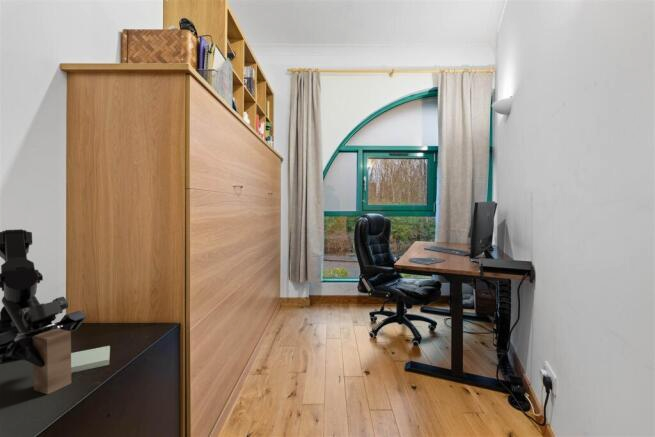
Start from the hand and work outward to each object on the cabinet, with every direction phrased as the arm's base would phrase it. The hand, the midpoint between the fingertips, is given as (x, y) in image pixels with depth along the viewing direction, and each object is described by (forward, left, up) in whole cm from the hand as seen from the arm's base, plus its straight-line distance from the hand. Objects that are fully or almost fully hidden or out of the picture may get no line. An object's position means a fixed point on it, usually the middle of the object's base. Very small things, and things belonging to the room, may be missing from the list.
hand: (56, 360), depth 76 cm
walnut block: (-1, +1, -7) cm, 7 cm away
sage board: (+5, +12, -7) cm, 14 cm away
